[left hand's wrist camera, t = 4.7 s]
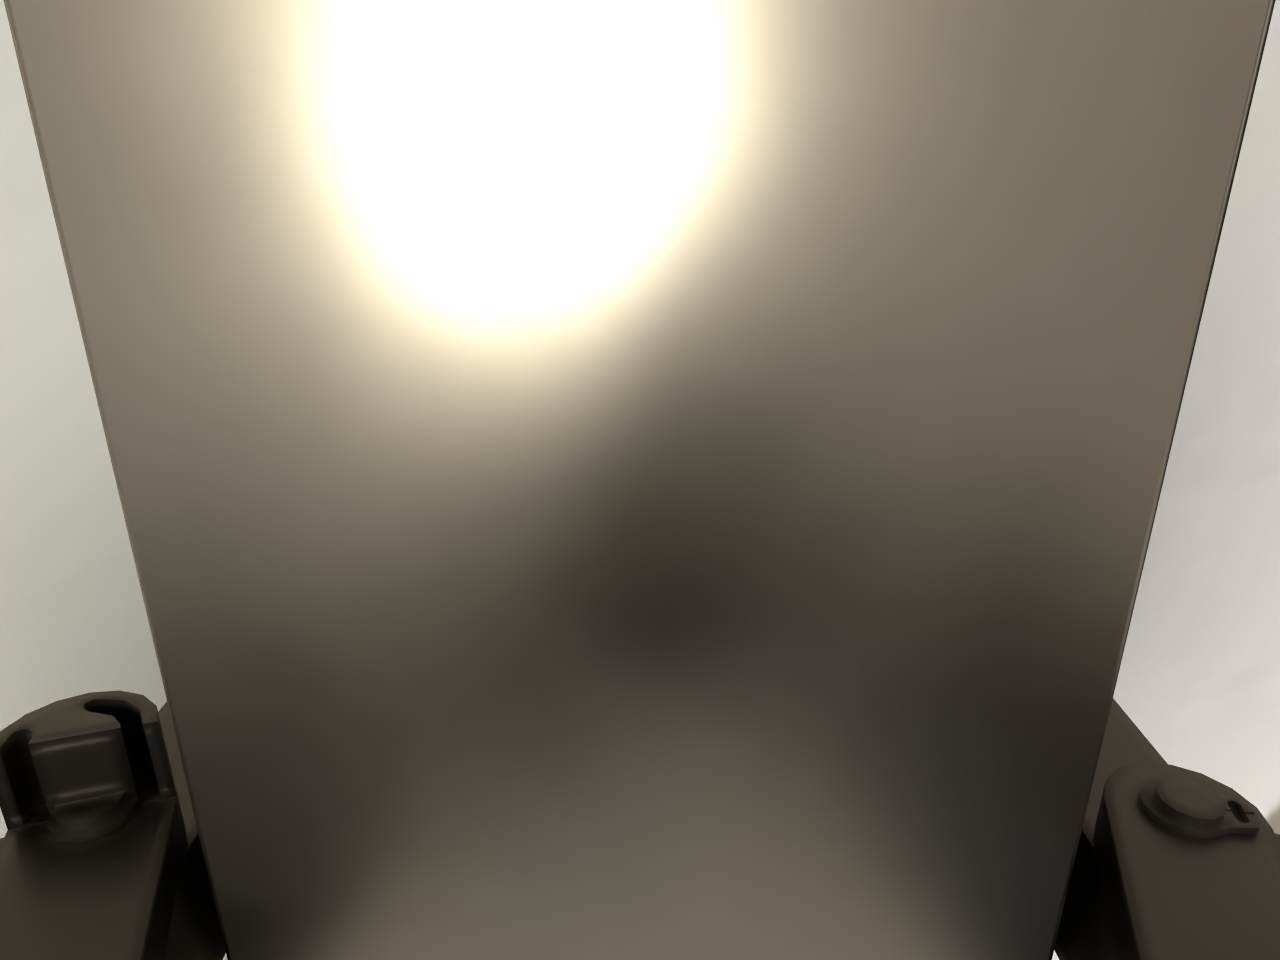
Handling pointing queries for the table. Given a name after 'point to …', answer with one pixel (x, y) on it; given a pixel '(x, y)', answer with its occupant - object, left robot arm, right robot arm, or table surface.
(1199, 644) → the table surface
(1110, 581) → the box
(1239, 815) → the left robot arm
